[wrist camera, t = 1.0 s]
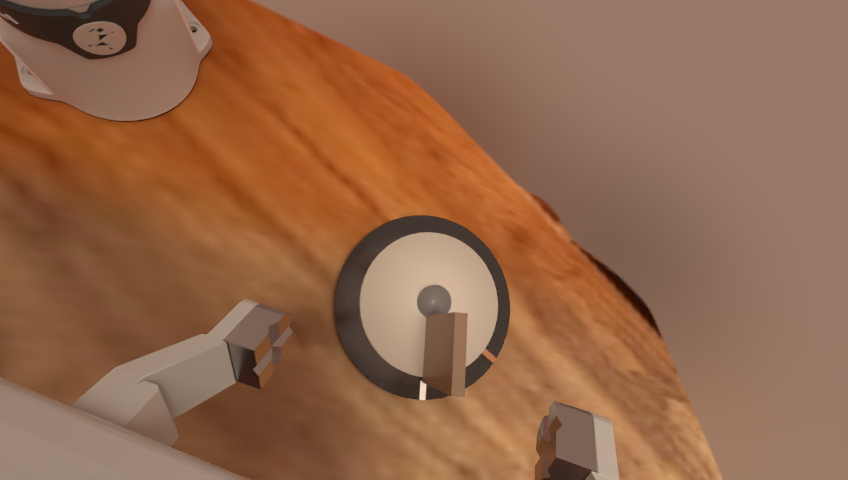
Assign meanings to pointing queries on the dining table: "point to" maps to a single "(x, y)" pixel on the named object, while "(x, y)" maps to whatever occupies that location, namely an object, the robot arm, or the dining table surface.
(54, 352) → the dining table surface
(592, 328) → the dining table surface
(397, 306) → the dial
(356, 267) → the dial housing
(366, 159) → the dining table surface
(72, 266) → the dining table surface
